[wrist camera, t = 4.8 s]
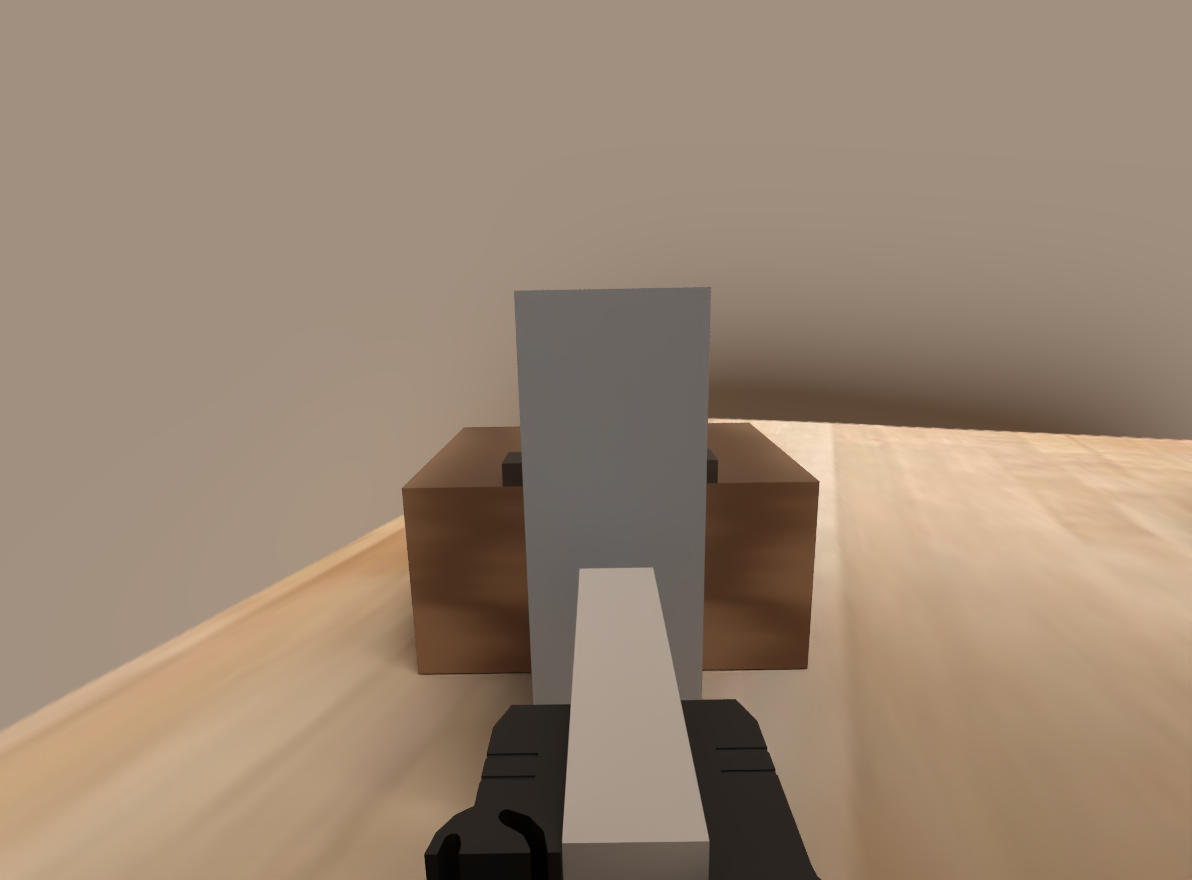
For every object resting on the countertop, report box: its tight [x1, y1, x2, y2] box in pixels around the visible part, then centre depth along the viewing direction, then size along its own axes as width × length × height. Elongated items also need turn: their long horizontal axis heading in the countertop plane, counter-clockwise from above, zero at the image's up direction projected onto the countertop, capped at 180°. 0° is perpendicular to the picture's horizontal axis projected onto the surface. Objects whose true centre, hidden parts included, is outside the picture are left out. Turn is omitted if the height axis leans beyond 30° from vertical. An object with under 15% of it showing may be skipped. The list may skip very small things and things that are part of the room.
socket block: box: [402, 423, 819, 674], centre depth 26 cm, size 14×10×8 cm
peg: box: [514, 287, 711, 705], centre depth 18 cm, size 4×8×13 cm, turn 0°
